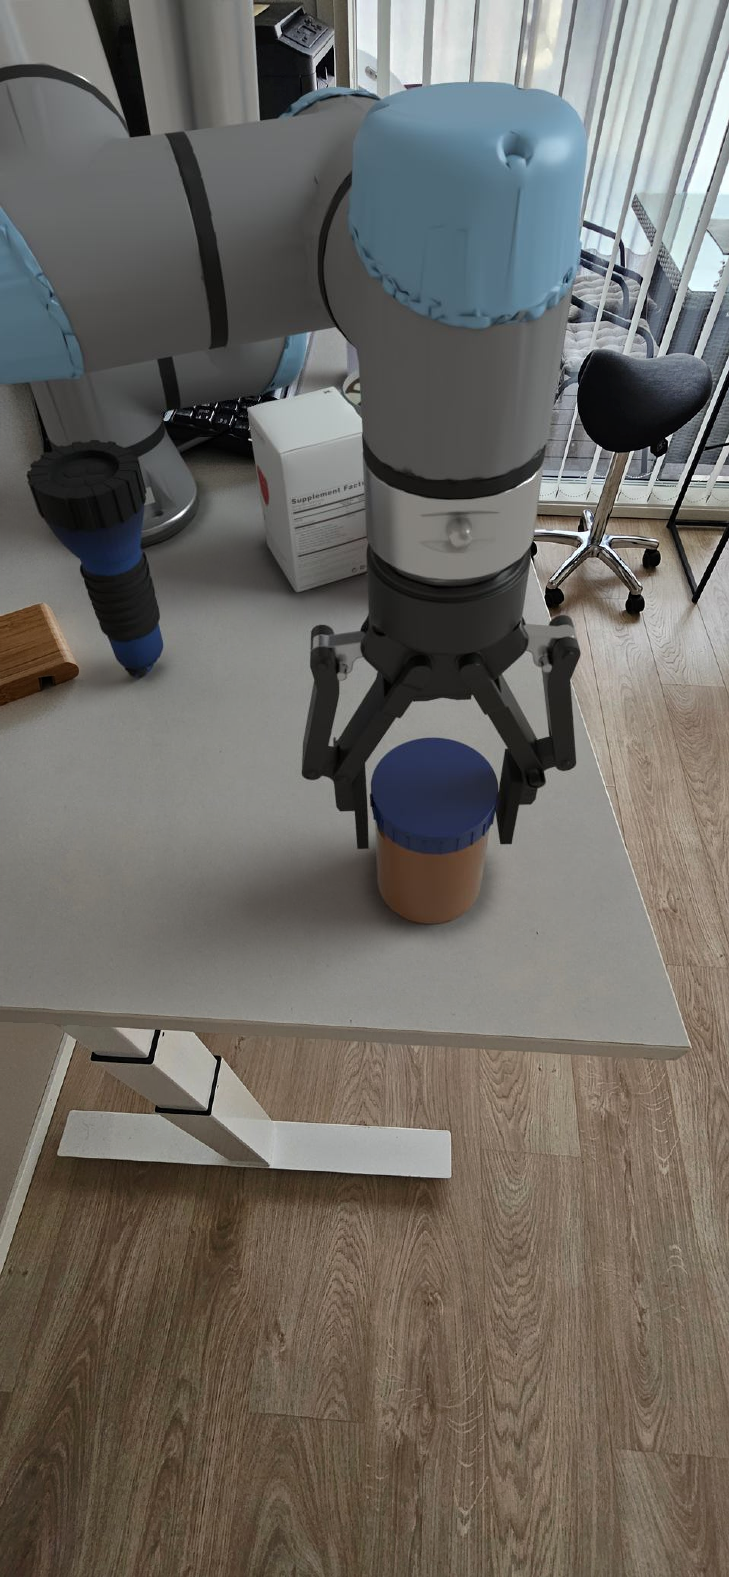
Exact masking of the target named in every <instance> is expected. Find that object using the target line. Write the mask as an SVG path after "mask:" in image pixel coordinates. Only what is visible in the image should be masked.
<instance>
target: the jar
mask: <svg viewBox="0 0 729 1577" xmlns="http://www.w3.org/2000/svg"><path fill="white" fill-rule="evenodd" d="M374 822H375V823H374V828H375V829H374V830H375V857H376V858H375V859H376V883H377V887H378V891H379V894H380V896H381V898H382V899H383V901H384V902H385V904H386V906H388V907H389V908H390V909H391V910H392V911H393V912H394V913H396V915H399V916H400V917H402V918H403V919H406V920H408V921H410V922H415V923H418V924H424V925H425V924H426V925H436V924H443V923H447V922H450V921H452V920H455V919H457V918H459V917H461V916H462V915H464V914H465V913H466V912H467V911H469V909H470V908H472V906H473V905H474V903H476V901H477V899H478V897H479V895H480V891H481V886H482V881H483V874H484V867H485V863H486V855H487V848H488V842H489V836H490V831H491V830H490V829H491V827H490V828H489V829H488V831H487V832H486V833H485V836H483V837H481V838H480V839H479V840H478V841H477V842H475V843H474V844H473V845H471V846H469V847H467V848H465V849H462V850H460V851H458V852H453V853H448V854H442V855H440V854H435V855H432V854H423V853H418V852H414V851H411V850H407V849H406V848H403V847H401V846H399V845H398V844H396V843H395V842H392V840H391V839H389V838H388V837H387V836H386V835H385V834H384V833H383V832H381V829H380V828H379V826H378V825H377V823H376V821H375V820H374Z"/></svg>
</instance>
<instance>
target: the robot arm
mask: <svg viewBox="0 0 729 1577" xmlns="http://www.w3.org/2000/svg"><path fill="white" fill-rule="evenodd" d="M128 3H129V9H130V16H131V22H132V28H133V34H134V40H135V46H136V47H135V48H136V52H137V58H138V59H137V60H138V64H139V65H138V66H139V70H140V77H141V83H142V89H143V96H144V101H145V106H146V107H145V108H146V113H147V119H148V125H149V131H150V135H139V136H134V137H133V136H132V137H131V136H130V132H129V129H128V123H127V120H126V117H125V114H124V111H123V108H122V104H121V101H120V98H119V95H118V91H117V88H116V85H115V82H114V79H113V75H112V72H111V69H110V66H109V62H108V59H107V56H106V53H105V50H104V47H103V43H102V41H101V36H100V34H99V30H98V27H97V23H96V20H95V18H94V15H93V12H92V9H91V5H90V2H89V0H0V386H1V385H12V384H23V383H29V385H30V388H31V392H32V394H33V397H34V400H35V403H36V406H37V409H38V413H39V415H40V417H41V420H42V424H43V426H44V429H45V432H46V435H47V437H48V440H49V443H50V446H51V449H52V451H53V450H55V447H58V446H62V445H63V446H68V445H71V444H72V442H78V441H81V442H82V443H83V442H90V441H91V440H99V441H100V442H106V443H107V442H108V441H112V442H115V443H116V444H117V445H119V446H121V447H123V448H125V449H129V448H130V449H131V450H132V451H134V454H135V457H136V456H137V457H138V460H139V464H140V468H141V472H142V476H143V480H144V484H145V488H146V492H147V493H146V494H145V495H146V502H145V504H144V516H143V524H142V536H141V544H140V548H144V547H148V546H152V545H154V544H157V543H161V542H162V541H165V540H167V539H169V538H170V537H173V536H174V535H175V534H178V533H179V532H180V531H182V530H183V529H184V528H186V527H187V526H188V525H189V524H190V523H191V522H192V520H193V519H194V518H195V516H196V514H197V513H198V510H199V507H200V496H199V491H198V487H197V483H196V479H195V477H194V475H193V473H192V472H191V470H190V468H189V466H188V465H187V464H186V462H185V461H184V459H183V457H182V456H181V453H183V452H185V451H187V450H189V449H192V448H193V447H195V446H198V445H200V444H202V443H204V442H207V441H209V440H211V439H213V438H214V437H199V436H197V437H195V438H193V439H191V440H188V441H187V442H185V443H182V444H180V445H178V446H176V445H175V444H174V442H173V440H172V438H171V437H170V436H169V433H168V431H167V427H166V424H165V423H166V422H165V419H164V415H163V413H167V412H171V411H176V410H183V409H187V408H192V407H197V406H203V405H209V404H214V403H220V402H225V401H230V400H231V401H232V400H235V399H240V398H246V397H251V396H252V397H254V396H260V395H261V396H262V395H265V394H266V393H268V392H271V391H275V390H279V389H283V388H286V387H289V386H290V385H291V384H293V383H294V382H295V381H296V380H297V378H298V377H299V375H300V374H301V371H302V368H303V366H304V362H305V358H306V352H307V340H308V333H312V332H318V331H323V330H329V329H333V328H334V329H335V328H336V330H337V331H339V332H340V334H341V335H342V336H343V337H344V339H345V341H346V340H347V341H348V342H349V343H350V344H351V345H352V346H354V347H355V348H356V351H357V356H358V362H359V377H360V396H361V414H362V432H363V433H362V445H363V453H362V456H363V477H364V499H365V520H366V539H367V540H368V546H367V553H366V557H367V571H366V578H367V579H366V582H367V605H368V606H367V608H368V613H367V616H366V619H365V620H364V621H363V623H362V625H361V627H360V630H355V631H349V632H341V633H336V634H335V632H334V630H333V628H332V627H331V626H329V625H327V624H318V625H314V627H313V628H312V629H311V631H310V648H309V649H310V650H309V668H310V671H311V674H312V678H313V684H312V690H311V695H310V701H309V702H310V703H309V706H308V712H307V717H306V718H307V719H306V722H305V723H306V724H305V729H304V733H303V734H304V735H303V740H302V755H301V756H302V760H301V776H302V777H303V778H304V779H306V780H308V781H316V780H318V779H320V778H322V777H325V778H328V779H330V780H331V781H332V782H333V785H334V786H333V788H334V789H333V790H334V798H335V806H336V809H337V810H338V811H339V812H354V820H355V835H356V849H357V850H369V849H370V845H369V843H370V842H369V811H368V810H369V809H368V808H369V807H368V792H367V790H368V789H367V772H366V763H367V761H368V760H369V758H370V757H371V755H372V754H373V752H374V751H375V750H376V748H377V747H378V745H379V743H380V742H381V741H382V740H383V738H384V737H385V735H386V733H387V732H388V730H389V729H390V728H391V726H392V725H393V724H394V722H395V720H396V719H401V718H403V715H404V714H405V713H406V711H407V710H408V708H409V707H410V706H411V704H412V703H413V702H416V703H417V702H430V701H434V700H439V699H448V700H454V701H467V700H468V701H469V700H472V696H473V698H474V700H475V701H476V703H477V705H478V707H479V708H480V710H481V712H482V713H483V714H484V716H488V718H489V720H490V721H491V723H492V725H493V726H494V728H495V730H496V732H497V733H498V735H499V736H500V738H501V740H502V741H503V743H504V745H505V747H506V748H504V755H503V760H502V766H501V774H500V780H499V784H498V798H499V801H498V807H497V812H496V811H495V818H496V819H495V820H496V825H497V831H498V832H497V833H498V838H499V844H500V845H512V844H513V839H514V833H515V830H516V829H515V828H516V823H517V818H518V813H519V808H520V806H528V805H529V806H530V805H532V804H533V803H534V802H535V801H536V799H537V794H538V789H540V788H542V787H544V786H545V785H546V784H547V779H546V775H545V772H546V770H549V769H552V768H556V769H557V770H558V771H561V772H567V771H569V770H573V769H574V768H575V767H576V766H577V752H576V751H577V750H576V739H575V725H574V724H575V723H574V712H573V710H574V709H573V698H572V697H573V696H572V683H571V680H572V677H573V675H574V672H575V670H576V668H577V665H578V664H579V661H580V658H581V655H582V654H581V653H582V652H581V649H580V645H579V641H578V637H577V634H576V630H575V626H574V622H573V619H572V618H571V617H570V616H569V615H566V614H560V615H557V616H554V617H553V618H552V619H551V620H550V622H549V623H548V625H546V624H531V623H526V621H525V620H526V619H525V618H524V617H523V615H524V607H525V600H526V594H527V588H528V587H527V586H528V582H529V573H530V567H531V559H532V550H531V546H532V543H533V540H534V537H535V534H536V532H535V531H536V526H537V524H536V523H537V517H538V512H539V511H538V510H539V501H540V495H541V487H542V480H543V473H544V466H545V465H544V464H545V456H546V450H547V445H548V441H549V438H550V437H549V436H550V430H551V425H552V420H553V414H554V408H555V401H556V396H557V395H556V394H557V388H558V383H559V376H560V371H561V370H560V369H561V364H562V358H563V352H564V346H565V340H566V335H567V329H568V328H567V327H568V321H569V316H570V310H571V305H572V304H571V303H572V297H573V292H574V285H575V281H576V279H577V274H578V272H579V268H580V264H581V261H582V260H581V253H582V247H583V242H582V241H581V235H582V228H581V213H582V206H583V205H582V204H583V195H584V194H583V193H584V185H585V178H586V177H585V176H586V167H587V158H588V137H587V133H586V128H585V124H584V123H583V121H582V119H581V117H580V115H579V112H578V111H577V109H576V108H574V107H573V106H572V104H570V103H569V101H567V100H566V99H564V98H563V97H562V96H560V95H558V94H556V93H553V92H551V91H547V90H545V89H541V88H527V89H526V88H521V87H517V86H516V85H515V84H511V83H507V82H501V81H454V82H453V81H452V82H442V83H434V84H427V85H421V86H415V87H412V88H408V89H405V90H400V91H398V92H395V93H392V94H389V95H387V96H385V97H382V98H381V97H380V96H378V95H377V94H376V93H374V92H369V91H365V90H361V89H354V88H351V87H343V86H327V87H322V88H319V89H315V90H312V91H310V92H308V93H306V94H304V95H302V96H301V97H299V99H298V100H297V101H295V102H293V103H292V104H290V105H289V107H288V108H286V110H284V111H283V113H282V114H281V115H279V116H278V117H277V118H271V119H264V120H261V118H260V100H259V83H258V65H257V63H258V62H257V49H256V48H257V46H256V29H255V28H256V27H255V10H254V0H128ZM261 396H260V397H261ZM526 652H529V653H531V656H532V660H533V663H534V665H535V666H536V667H538V668H541V675H542V683H543V684H542V685H543V694H544V703H545V711H546V719H547V720H546V721H547V729H548V730H547V731H548V736H546V737H541V738H538V736H536V734H535V732H534V730H533V728H532V726H531V725H530V723H529V721H528V719H527V717H526V715H525V714H524V712H523V709H522V708H521V706H520V704H519V702H518V700H517V699H516V697H515V695H514V694H513V692H512V690H511V688H510V686H509V684H508V683H507V681H506V679H505V677H504V675H503V674H504V673H505V672H506V671H507V670H508V669H509V668H510V667H511V666H512V665H513V664H515V663H516V662H517V661H518V660H519V659H520V658H521V657H522V656H523V655H524V654H525V653H526ZM361 658H363V659H364V661H365V662H367V663H368V664H369V665H370V666H371V667H372V668H373V669H374V670H375V671H376V676H375V680H374V681H373V683H372V684H371V686H370V688H369V689H368V691H367V692H366V694H365V696H364V697H363V699H362V700H361V702H360V704H359V705H358V707H357V709H356V710H355V712H354V713H353V715H352V717H351V718H350V720H349V721H348V723H347V725H346V726H345V728H344V729H343V731H342V732H341V734H340V736H339V737H338V739H336V737H335V736H334V737H333V739H332V743H333V744H332V745H330V740H331V735H332V731H333V727H334V722H335V717H336V713H337V709H338V703H339V700H340V682H343V681H346V679H347V678H348V674H350V673H351V672H352V670H353V667H354V663H355V662H356V661H357V660H358V659H361Z"/></svg>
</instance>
